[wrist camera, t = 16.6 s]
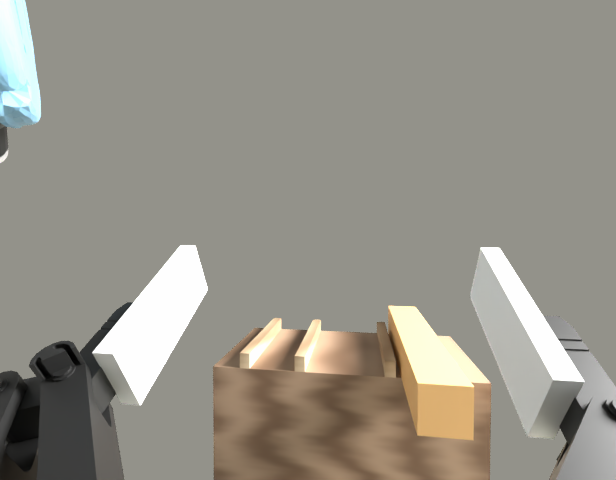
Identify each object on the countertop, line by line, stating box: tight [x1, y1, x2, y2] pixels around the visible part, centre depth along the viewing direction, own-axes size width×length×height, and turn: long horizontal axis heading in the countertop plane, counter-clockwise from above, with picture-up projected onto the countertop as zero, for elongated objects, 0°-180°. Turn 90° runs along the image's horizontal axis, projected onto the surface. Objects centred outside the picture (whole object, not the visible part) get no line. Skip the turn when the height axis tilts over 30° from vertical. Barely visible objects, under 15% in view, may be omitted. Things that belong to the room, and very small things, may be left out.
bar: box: [388, 306, 474, 440], centre depth 34 cm, size 4×24×4 cm, turn 171°
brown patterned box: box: [213, 318, 491, 480], centre depth 40 cm, size 26×14×32 cm, turn 82°
